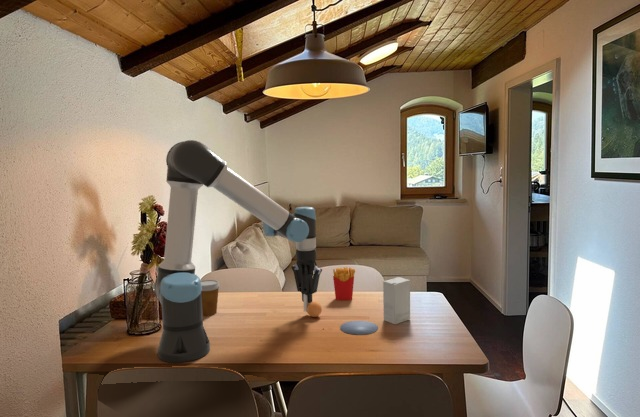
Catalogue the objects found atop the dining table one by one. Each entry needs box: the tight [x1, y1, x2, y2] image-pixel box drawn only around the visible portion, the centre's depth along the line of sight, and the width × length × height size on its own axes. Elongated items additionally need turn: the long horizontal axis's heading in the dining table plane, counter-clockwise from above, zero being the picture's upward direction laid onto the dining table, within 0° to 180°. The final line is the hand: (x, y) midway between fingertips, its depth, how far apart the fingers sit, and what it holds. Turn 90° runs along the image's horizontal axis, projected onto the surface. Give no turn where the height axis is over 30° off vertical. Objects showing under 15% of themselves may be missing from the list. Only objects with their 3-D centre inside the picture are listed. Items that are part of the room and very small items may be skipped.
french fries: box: [332, 266, 356, 301], centre depth 191 cm, size 9×4×13 cm, turn 89°
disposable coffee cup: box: [201, 279, 221, 317], centre depth 176 cm, size 10×10×12 cm
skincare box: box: [382, 276, 411, 325], centre depth 164 cm, size 8×6×15 cm
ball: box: [306, 301, 323, 318], centre depth 170 cm, size 6×6×6 cm
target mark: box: [339, 320, 379, 336], centre depth 158 cm, size 13×13×1 cm
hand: (307, 310), depth 172 cm, fingers closed
